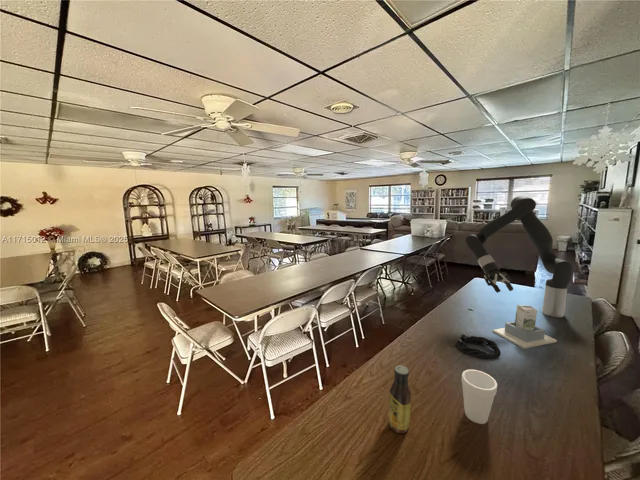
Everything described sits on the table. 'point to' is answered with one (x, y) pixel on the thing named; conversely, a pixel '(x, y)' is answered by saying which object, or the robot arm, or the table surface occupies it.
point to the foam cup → (478, 395)
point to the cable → (478, 352)
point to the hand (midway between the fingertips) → (505, 291)
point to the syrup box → (525, 318)
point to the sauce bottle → (400, 401)
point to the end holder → (524, 336)
